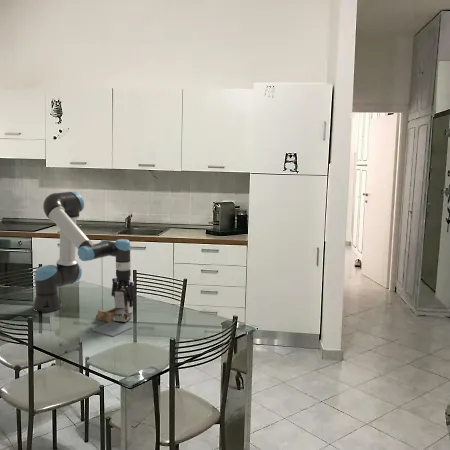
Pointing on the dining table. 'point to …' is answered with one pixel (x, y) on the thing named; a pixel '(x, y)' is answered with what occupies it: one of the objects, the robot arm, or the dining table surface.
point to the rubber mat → (112, 329)
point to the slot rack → (106, 315)
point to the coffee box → (121, 305)
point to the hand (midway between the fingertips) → (123, 310)
